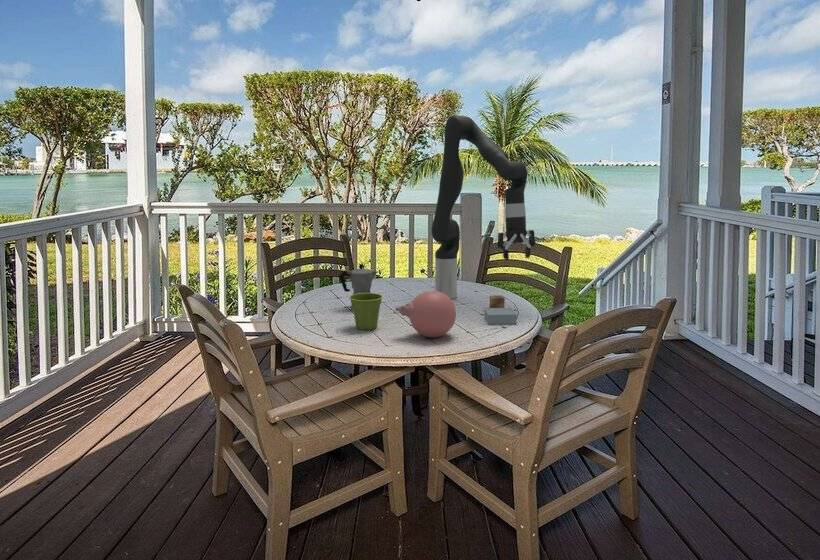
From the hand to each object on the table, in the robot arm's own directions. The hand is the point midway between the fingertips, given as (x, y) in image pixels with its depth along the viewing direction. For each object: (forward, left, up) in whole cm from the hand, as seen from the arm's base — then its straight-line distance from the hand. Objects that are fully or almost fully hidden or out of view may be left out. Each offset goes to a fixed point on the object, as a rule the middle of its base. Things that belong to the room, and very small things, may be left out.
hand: (517, 258), depth 223 cm
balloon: (-36, -31, -21) cm, 52 cm away
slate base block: (-8, -13, -21) cm, 26 cm away
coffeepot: (-60, +9, -21) cm, 64 cm away
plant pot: (-56, -19, -21) cm, 63 cm away
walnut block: (-6, +5, -21) cm, 22 cm away
